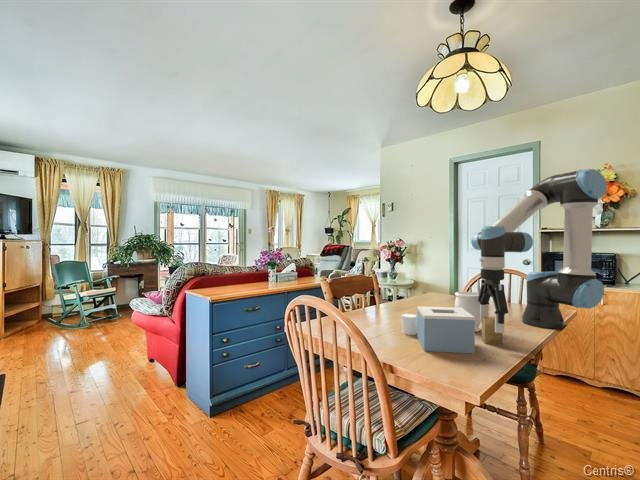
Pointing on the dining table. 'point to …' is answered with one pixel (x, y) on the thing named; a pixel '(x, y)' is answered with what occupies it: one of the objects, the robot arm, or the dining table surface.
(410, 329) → the white cylinder
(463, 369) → the dining table surface
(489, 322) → the wooden rectangular block
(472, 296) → the jar
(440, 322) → the box
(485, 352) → the dining table surface
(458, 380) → the dining table surface
